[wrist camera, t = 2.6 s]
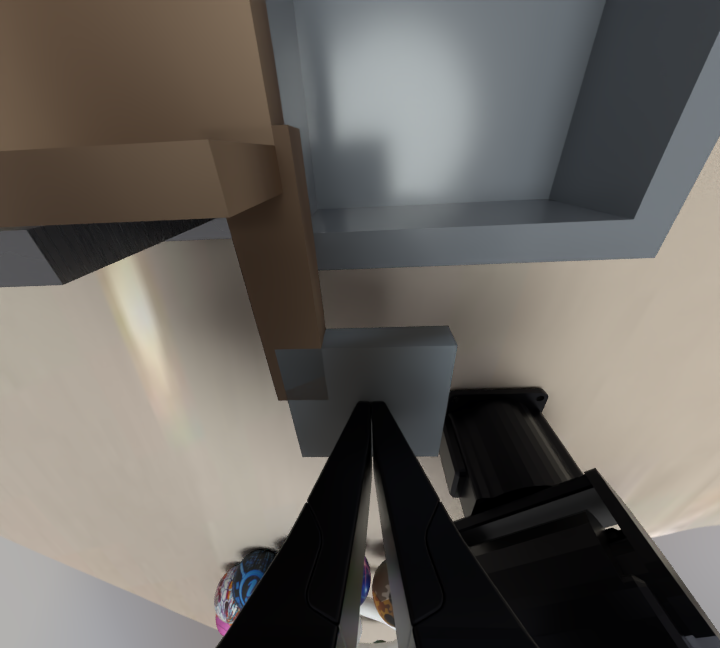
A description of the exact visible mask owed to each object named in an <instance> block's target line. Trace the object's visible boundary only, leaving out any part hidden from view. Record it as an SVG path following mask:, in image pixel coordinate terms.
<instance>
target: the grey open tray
mask: <svg viewBox="0 0 720 648" xmlns="http://www.w3.org/2000/svg"><path fill="white" fill-rule="evenodd" d="M266 7H267V13H268V20H269V26H270V33H271V39H272V46H273V52H274V59H275V65H276V72H277V78H278V85H279V91H280V98H281V104H282V111H283V117H284V124H285V125H290V126H293V127H295V128H298V129H300V137H301V144H302V152H303V160H304V167H305V175H306V182H307V190H308V198H309V205H310V213H311V220H312V228H313V236H314V243H315V251H316V258H317V266H318V270H343V269H370V268H396V267H423V266H449V265H476V264H502V263H528V262H555V261H581V260H608V259H634V258H655V256H656V255H657V253H658V251H659V249H660V247H661V245H662V243H663V241H664V240H665V238H666V236H667V234H668V232H669V230H670V228H671V226H672V224H673V223H674V221H675V219H676V217H677V215H678V213H679V211H680V209H681V208H682V206H683V204H684V202H685V200H686V198H687V196H688V194H689V193H690V191H691V189H692V187H693V185H694V183H695V181H696V179H697V178H698V176H699V174H700V172H701V170H702V168H703V166H704V164H705V162H706V161H707V159H708V157H709V155H710V153H711V151H712V149H713V147H714V146H715V144H716V142H717V140H718V138H719V136H720V0H266Z"/></svg>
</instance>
